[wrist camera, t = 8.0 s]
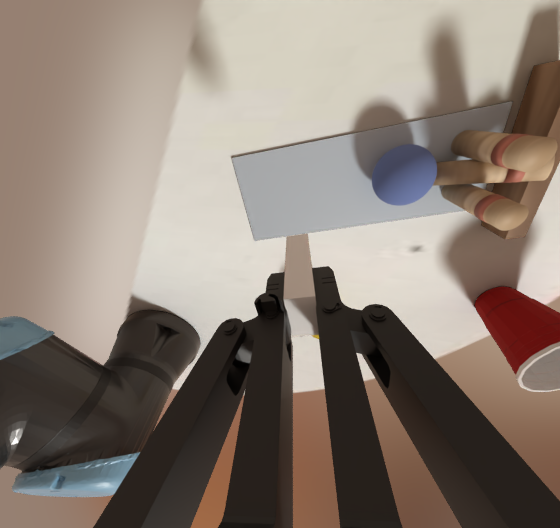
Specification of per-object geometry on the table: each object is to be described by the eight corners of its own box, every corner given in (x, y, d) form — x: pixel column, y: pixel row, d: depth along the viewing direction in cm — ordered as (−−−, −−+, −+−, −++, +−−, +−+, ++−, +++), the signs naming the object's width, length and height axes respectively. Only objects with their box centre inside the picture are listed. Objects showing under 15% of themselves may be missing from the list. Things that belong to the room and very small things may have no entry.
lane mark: (254, 240, 32) (254, 240, 32) (232, 157, 26) (231, 158, 26) (478, 208, 28) (479, 208, 28) (511, 101, 22) (513, 101, 22)
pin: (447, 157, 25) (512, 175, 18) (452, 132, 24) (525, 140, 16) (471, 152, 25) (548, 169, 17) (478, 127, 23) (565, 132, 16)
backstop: (481, 225, 29) (505, 239, 26) (534, 65, 21) (580, 56, 17) (498, 222, 29) (524, 236, 26) (559, 60, 20) (611, 49, 17)
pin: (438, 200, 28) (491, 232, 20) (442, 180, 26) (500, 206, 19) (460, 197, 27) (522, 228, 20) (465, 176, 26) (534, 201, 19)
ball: (428, 194, 26) (373, 202, 28) (431, 136, 24) (370, 150, 26) (441, 207, 21) (373, 215, 24) (447, 136, 19) (369, 154, 21)
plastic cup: (534, 311, 37) (623, 384, 27) (460, 329, 40) (515, 400, 30) (540, 261, 32) (653, 329, 22) (455, 286, 35) (520, 355, 25)
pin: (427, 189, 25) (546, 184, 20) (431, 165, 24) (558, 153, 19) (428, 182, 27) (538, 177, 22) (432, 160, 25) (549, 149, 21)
